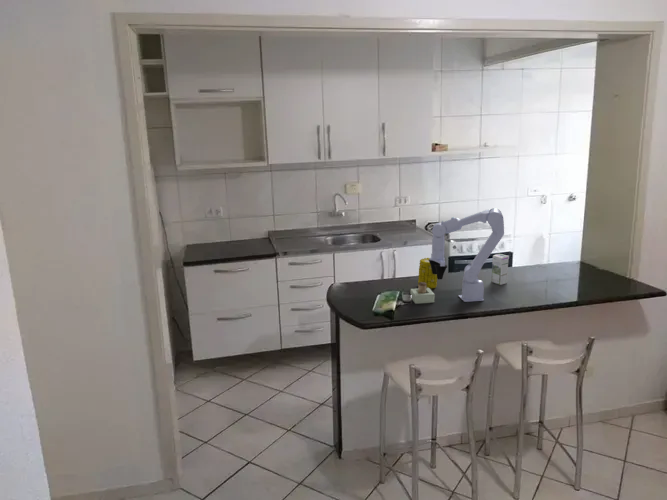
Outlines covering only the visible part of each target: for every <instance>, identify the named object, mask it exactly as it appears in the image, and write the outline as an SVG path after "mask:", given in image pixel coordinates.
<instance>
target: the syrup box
mask: <svg viewBox="0 0 667 500" xmlns="http://www.w3.org/2000/svg"><path fill="white" fill-rule="evenodd" d="M509 258H510V257H509V255H506V254H503V253H496V254H494V255H492V263H491V265H492V266H491V268H492V269H491V280H490V281H491V283H493V284H495V285H499V286H502V285H505V284H508V272H509V271H508V270H509V269H508V268H509Z"/></svg>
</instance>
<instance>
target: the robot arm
mask: <svg viewBox="0 0 667 500" xmlns="http://www.w3.org/2000/svg"><path fill="white" fill-rule="evenodd" d="M504 221H505V220H504V215H503V214H502V211H501V210H500V209H498V208H496V207H494V208H493V207H492V208H491V209H485V210H482V211H479V212H477V213H474V214H473V213H472V214H471V215H468V216H465V217H462V218H459V217H454V216H453V217H451V218H450V219H448V220H445V221H444V220H441V221H440V222H436V223H435V224H433V227H432V229H431V232H432V239H431V241H432V243H431V253H430V257H428V258H429V262H430V265H431V269H432V274H437V280H443V277H444V274H445V271H446V270H447V268H448V264H446V261H445V251H446V249H445V247H446V246H445V244H446V239H445V234H451V233H453V232H457V231H460V230H461V229H462V227H464V226H468V225H471V224H475V223H478V222H480V223H484V224H488V225H489V226H490V227H491V228H490V229H491V231H492V232H491V234H489V236H488V238H487V240H486V241H485V242H484V244H483V245H482V247H481V248H480V250H479V252H477V254H476V255H475V257H474V259H473V260H471V262H470V263H468V264H467V265H466V266H465V267H464V269H463V271H464V273H463V278H462V279H461V280H462V284H461V294H458V297H459V298H460V299H461V300H462V301H463V302H464V303H466V302H467V303H469V302H484V292H485V289H484V288H485V285H484V284H485V283H484V282H483V280H481V279H479V278H478V277H479V276H478V275H479V273H480V272H481V270H482V268H483V266H484V264H485V262H486V261H487V260H488V258H489V256H491V254H492V252H493V251H494V249H496V247H497V245H498V244H499V243H500V241H501V240H502V238H503V237H504V235H505V222H504ZM487 222H488V223H487Z"/></svg>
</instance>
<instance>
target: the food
mask: <svg viewBox="0 0 667 500" xmlns="http://www.w3.org/2000/svg"><path fill="white" fill-rule="evenodd" d="M429 258H430V257H424V258H421V259H420V260H419V266H418V267H419V268H418V280H417V283H418V284H419V283H420V282H425V283H426V288H430V290H433V289H436V288H437V286H438V279H437V274H432V269H431V265H430V262H429ZM418 284H417V286H419V285H418Z"/></svg>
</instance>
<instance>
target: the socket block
mask: <svg viewBox="0 0 667 500" xmlns="http://www.w3.org/2000/svg"><path fill="white" fill-rule="evenodd" d="M410 294H411V295H412V298H411V300H412V301H413V302H414V304H417V305H418V304H430V303H431V304H432V303H435V297H436V296H435V295H436V294H435V293H434V292H433V290H432V289H431V288H426V293H422V294H418V288H417V287H415V288H410ZM410 294H409V295H410Z"/></svg>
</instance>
